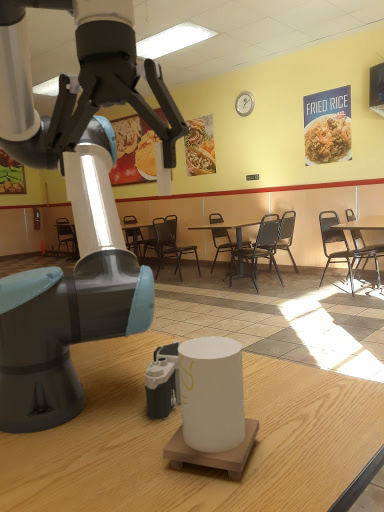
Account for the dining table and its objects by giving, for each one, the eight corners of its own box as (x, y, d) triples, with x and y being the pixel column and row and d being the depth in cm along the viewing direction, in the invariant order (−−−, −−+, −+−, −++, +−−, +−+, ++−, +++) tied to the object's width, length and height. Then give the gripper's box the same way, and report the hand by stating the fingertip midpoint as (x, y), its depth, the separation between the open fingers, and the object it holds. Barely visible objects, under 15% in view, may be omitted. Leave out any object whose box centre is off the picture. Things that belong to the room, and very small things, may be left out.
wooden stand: (164, 474, 55) (163, 449, 55) (192, 432, 64) (191, 410, 64) (242, 489, 51) (241, 463, 51) (259, 442, 61) (259, 420, 60)
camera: (193, 427, 66) (189, 364, 64) (139, 423, 68) (135, 362, 67) (214, 382, 81) (211, 330, 80) (169, 379, 83) (166, 329, 82)
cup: (188, 417, 62) (183, 336, 60) (246, 419, 61) (242, 336, 59) (178, 451, 54) (172, 359, 52) (244, 453, 53) (240, 359, 51)
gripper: (5, 37, 56) (23, 203, 59) (186, -5, 47) (196, 194, 50) (44, 53, 63) (59, 201, 66) (208, 19, 54) (216, 192, 57)
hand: (118, 198), depth 58 cm, fingers open, 13 cm apart
